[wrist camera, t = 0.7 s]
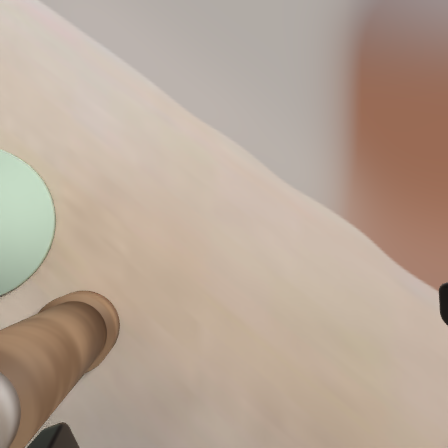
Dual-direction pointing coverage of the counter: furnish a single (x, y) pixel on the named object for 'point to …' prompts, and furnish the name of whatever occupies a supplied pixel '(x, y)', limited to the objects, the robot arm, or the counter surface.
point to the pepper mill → (50, 360)
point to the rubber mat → (23, 221)
